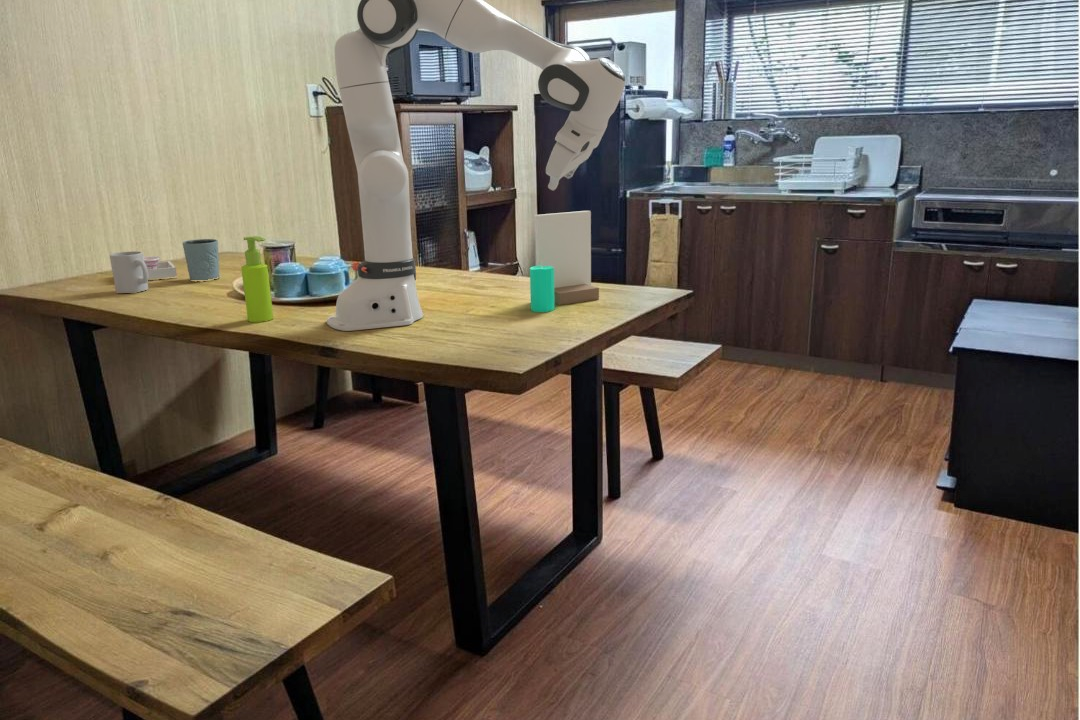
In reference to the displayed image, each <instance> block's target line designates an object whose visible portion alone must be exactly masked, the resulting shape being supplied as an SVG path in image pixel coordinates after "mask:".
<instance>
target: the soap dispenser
mask: <svg viewBox="0 0 1080 720" xmlns="http://www.w3.org/2000/svg"><path fill="white" fill-rule="evenodd" d="M243 241H246V242H247V243H246V244H247V249H246V250H245V251H244V258H245V264H244V265H241V267H240V269H241V271H240V272H241V278H242V284H243V292H244V300H245V308H246V316H247V317H246V318H247V320H248V321H247V322H249V321H250V322H249V323H263V322H262V321H266V322H269V321H268V320H270V321H272V320H271V319H273V318H274V311H273V302H272V293H271V286H270V276H269V269H268V265H267V264H265V263H262V258H261V257H262V256H261V251H260V250H259V249H257V247H256V242H257V243H258V242H265V241H266V239H265V238H264V237H261V236H256V235H253V236H247V237H246V236H245V237H243ZM273 320H274V319H273Z"/></svg>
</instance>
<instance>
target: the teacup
mask: <svg viewBox="0 0 1080 720" xmlns="http://www.w3.org/2000/svg"><path fill="white" fill-rule="evenodd" d="M143 259H144V262H145V264H146V266H147V269H148V270H149V269H157V265H158V263H157V262H160V260H161V256H154V255H153V256H143Z"/></svg>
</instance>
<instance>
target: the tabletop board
mask: <svg viewBox="0 0 1080 720" xmlns="http://www.w3.org/2000/svg"><path fill="white" fill-rule="evenodd" d="M591 211H592V210H580V211H569V212H567V211H566V212H557V213H556V212H555V213H553V212H552V213H545V214H543V213H542V214H534V241H535V242H534V243H535V246H534V247H535V249H534V250H535V266H538V265H539V266H551V267H553V268H554V302H555V304H556V305H558V306H562V305H568V304H569V305H570V304H576V303H582V302H588V301H589V302H590V301H595V300H600V288H599V287H597V286H595V285H592V233H591V232H592V230H591V229H592V228H591V227H592V226H591V225H592V218H591V217H592V212H591ZM541 261H542V265H541Z"/></svg>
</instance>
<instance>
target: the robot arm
mask: <svg viewBox="0 0 1080 720" xmlns="http://www.w3.org/2000/svg"><path fill="white" fill-rule="evenodd" d="M356 18H357V24H358V26H359V28H358V29H357V30H355V31H349V32H347V33H344V34H343V35H341V36H340V37H339V38H338V39H337V40H336V42H335V44H334V65H335V66H334V67H335V73H336V74H335V75H336V80H337V86H338V90H339V91H338V92H339V96H340V101H341V105H342V110H343V114H344V117H345V118H344V119H345V124H346V128H347V132H348V137H349V141H350V144H351V149H352V154H353V159H354V162H355V166H356V172H357V183H358V192H359V193H358V194H359V203H360V204H359V205H360V214H361V216H360V217H361V227H362V238H363V239H362V240H363V249H364V260H363V261H362V262H357V261H353V262H352V263H351V264H350V268H351V269H352V270H353V271H355V272H357V274H358V277H357V278H356V279H355V280H354V281H353V282H352V283H351V284H349V286H347V287H346V288H345V289H344V290H343V291H342V292H341V293H339V294H338V296H337V298H336V305H335V315H334V314H333V315H329V316H328V317H327V319H326V323H327V325H328V326H329V327H330V328H332V329H334V330H339V331H344V332H350V331H360V330H370V329H381V328H391V327H400V326H409V325H412V324H413V323H414V322H415V321H418V320H420V319H422V318H423V317H424V313H423V310H422V307H421V304H420V300H419V296H418V291H417V285H416V280H417V268H416V261H415V258H414V257H413V244H412V229H411V200H410V198H411V197H410V180H409V177H410V176H409V170H408V167H407V165H406V163H405V161H404V157H403V152H402V145H401V139H400V133H399V128H398V127H399V126H398V122H397V121H398V120H397V114H396V111H395V105H394V100H393V95H392V91H391V86H390V82H389V81H390V80H389V76H388V72H387V71H388V70H387V63H386V59H387V56H389V55H392V54H393V53H394V52H396V51H399V50H400V49H402V48H405V47H406V46H408V45H409V44H410V43H412V41H413V40H414V39H415V38H416V35H417V34H418V32H419V30H420V29H422V30H423V29H424V30H428V31H430V32H432V33H433V34H436V35H437V36H439V37H440V38H442V39H444V40H445V41H447V42H449V43H450V44H452V45H453V46H455V47H457V48H459V49H462V50H464V51H465V52H468V53H472V54H480V53H486V52H490V51H506V52H510V53H512V54H514V55H516V56H518V57H519V58H521V59H523V60H525V61H527V62H529V63H530V64H533V65H535V66H536V67H538V68H540V69H541V70H542V71H541V73H540V75H539V76H538V81H537V87H538V92H539V94H540V96H541V98H542V99H543V100H544V101H545V102H546V103H547V104H548V105H550V106H553V107H555V108H558V109H562V110H566V111H569V115H568V117H567V119H566V120H565V123H564V125H563V126H562V127H561V128H560V129H559V130H558V132H557V133H556V135H555V137H554V141H556V143H555V144H554V146H553V148H552V150H551V152H550V155H549V158H548V161H547V163H546V167H545V174H546V175H547V176H549V183H548V185H547V188H548V189H549V190H551V191H555V190H556V189H557V188H558V186H559V184H560V182H559V181H560V180H561V179H562V178H563V177H564V178H566V179H568V180H569V179H571V178H572V177H573V176H574V174H575V172H576V170H577V169H578V168H579V166H580V165H581V164H582V163H584V162H585V161H587V160H589V157H591V155H592V153H593V150H594V149H596V148H597V147H598V146H599V144H600V142H601V140H602V139H603V138H602V137H603V136H604V134H605V132H606V129H607V127H608V123H609V120H610V117H611V116H612V115H613V114H614V113H615V111H616V109H617V107H618V105H619V103H620V100H621V98H622V95H623V93H624V89H625V87H626V76H625V73H624V72H623V70H622V69H621V67H620V66H619V65H618V64H616V63H615V62H614V61H612V60H610V59H608V58H606V57H598V58H595V59H594V58H593V59H591V58H590V56H589V55H588V54H587V52H586V51H585V50H584V49H582V48H581V47H579V46H577V45H572V44H566V43H560V42H557V41H553V40H552V39H549V38H548V37H546V36H544V35H543V34H541V33H539V32H537V31H535V30H533V29H532V28H530V27H529V26H526V25H525V24H522V23H521V22H519V21H518V20H515V19H514V18H511V17H510V16H508V15H507V14H505V13H503V12H502V11H500V10H498V9H497V8H495V6H492V5H491V4H489V3H488V2H487V1H485V0H360V1H359V4H358V6H357V11H356Z"/></svg>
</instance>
